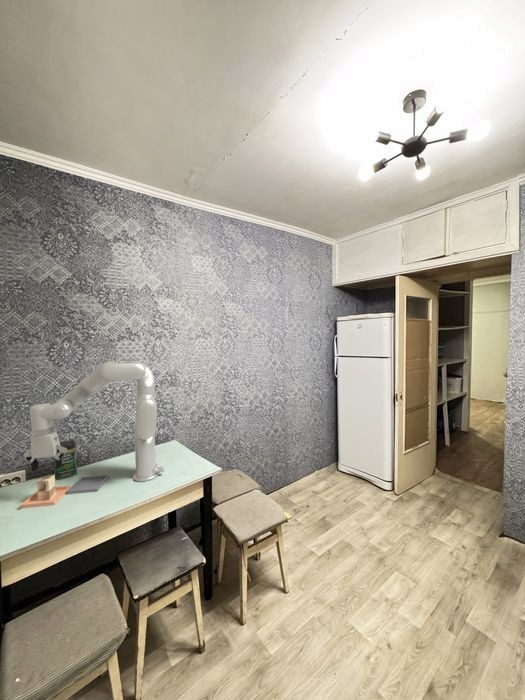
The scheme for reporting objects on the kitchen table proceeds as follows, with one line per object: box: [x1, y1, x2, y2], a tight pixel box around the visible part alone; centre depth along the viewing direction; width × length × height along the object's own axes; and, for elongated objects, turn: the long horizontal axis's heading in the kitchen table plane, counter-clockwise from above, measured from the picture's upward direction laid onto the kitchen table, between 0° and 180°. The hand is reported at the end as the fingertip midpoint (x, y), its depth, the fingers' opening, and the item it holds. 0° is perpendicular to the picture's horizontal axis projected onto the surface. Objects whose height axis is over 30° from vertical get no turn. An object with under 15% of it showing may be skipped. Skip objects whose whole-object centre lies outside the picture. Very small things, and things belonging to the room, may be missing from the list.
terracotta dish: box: [19, 485, 72, 510], centre depth 124 cm, size 13×13×2 cm
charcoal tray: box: [66, 474, 110, 495], centre depth 134 cm, size 13×13×2 cm
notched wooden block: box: [37, 474, 56, 501], centre depth 124 cm, size 4×5×9 cm
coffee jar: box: [54, 439, 78, 481], centre depth 144 cm, size 10×8×19 cm
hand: (47, 468), depth 124 cm, fingers open, 9 cm apart
